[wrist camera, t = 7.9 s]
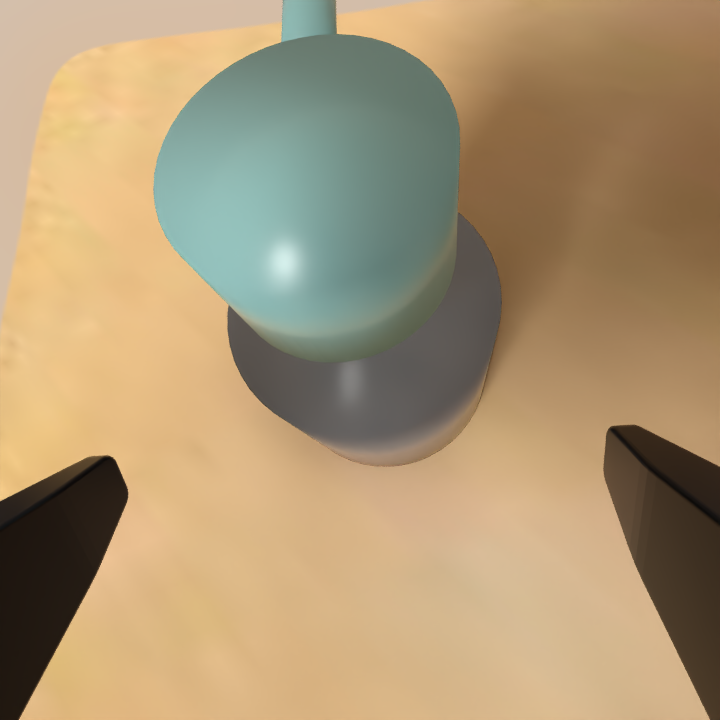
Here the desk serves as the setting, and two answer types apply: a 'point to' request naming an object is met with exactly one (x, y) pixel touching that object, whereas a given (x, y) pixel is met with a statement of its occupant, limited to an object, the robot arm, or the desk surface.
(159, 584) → the desk surface
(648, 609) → the desk surface
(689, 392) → the desk surface
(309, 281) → the pump head
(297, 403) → the grey rounded lump
